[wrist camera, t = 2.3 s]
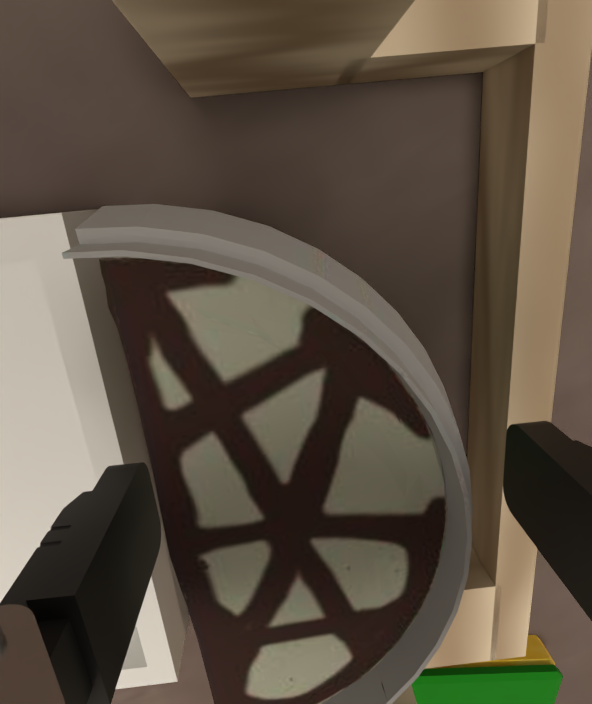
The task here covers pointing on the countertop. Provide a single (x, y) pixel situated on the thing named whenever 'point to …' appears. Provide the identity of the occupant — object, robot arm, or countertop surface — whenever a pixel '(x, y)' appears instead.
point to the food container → (288, 455)
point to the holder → (492, 213)
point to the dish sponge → (493, 680)
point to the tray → (70, 418)
